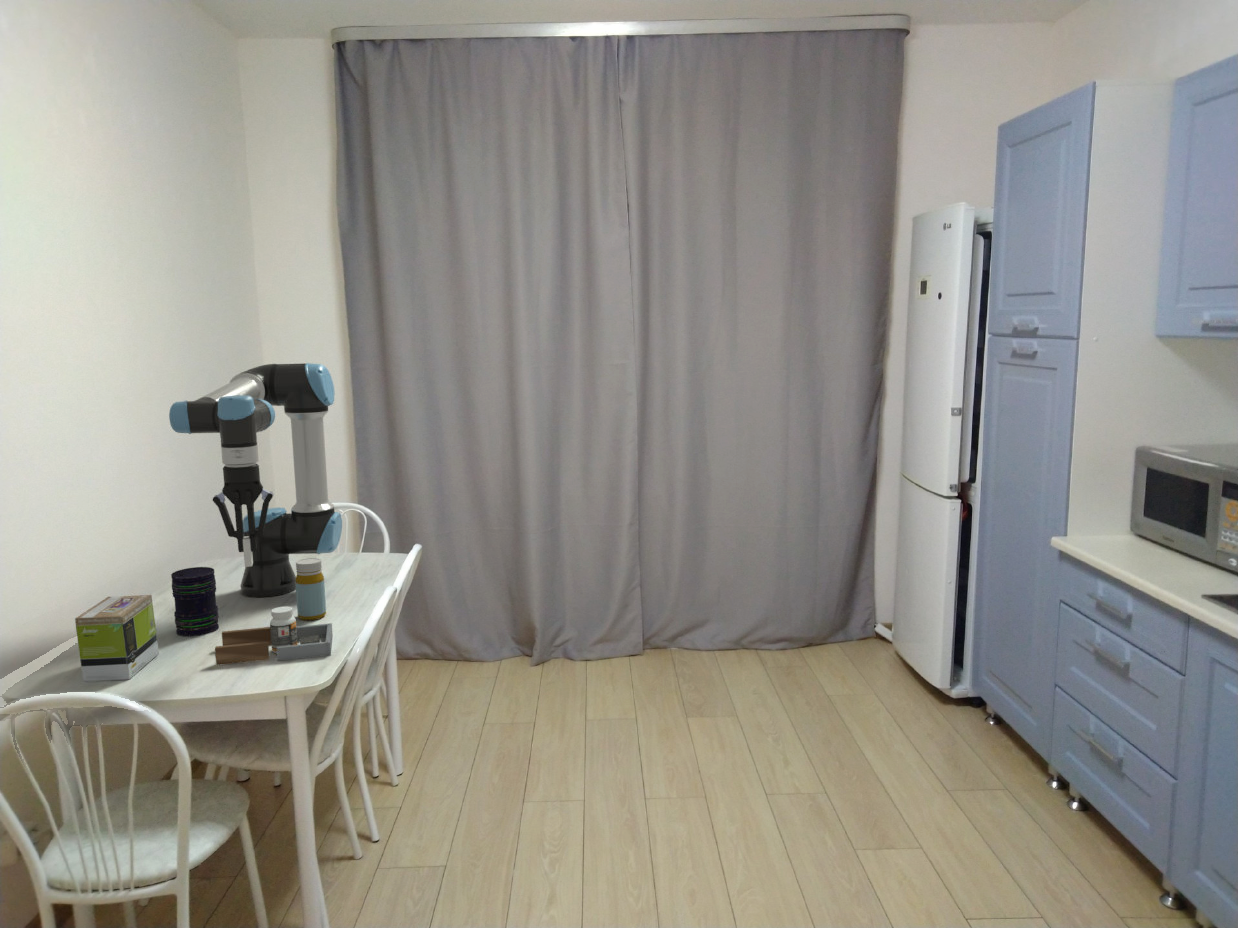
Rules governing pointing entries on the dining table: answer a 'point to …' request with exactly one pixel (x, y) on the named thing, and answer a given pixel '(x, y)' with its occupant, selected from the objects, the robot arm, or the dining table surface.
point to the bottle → (310, 589)
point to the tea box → (116, 638)
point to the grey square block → (310, 639)
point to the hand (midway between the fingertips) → (249, 564)
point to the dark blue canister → (195, 601)
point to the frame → (309, 648)
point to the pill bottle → (283, 628)
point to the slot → (243, 646)
